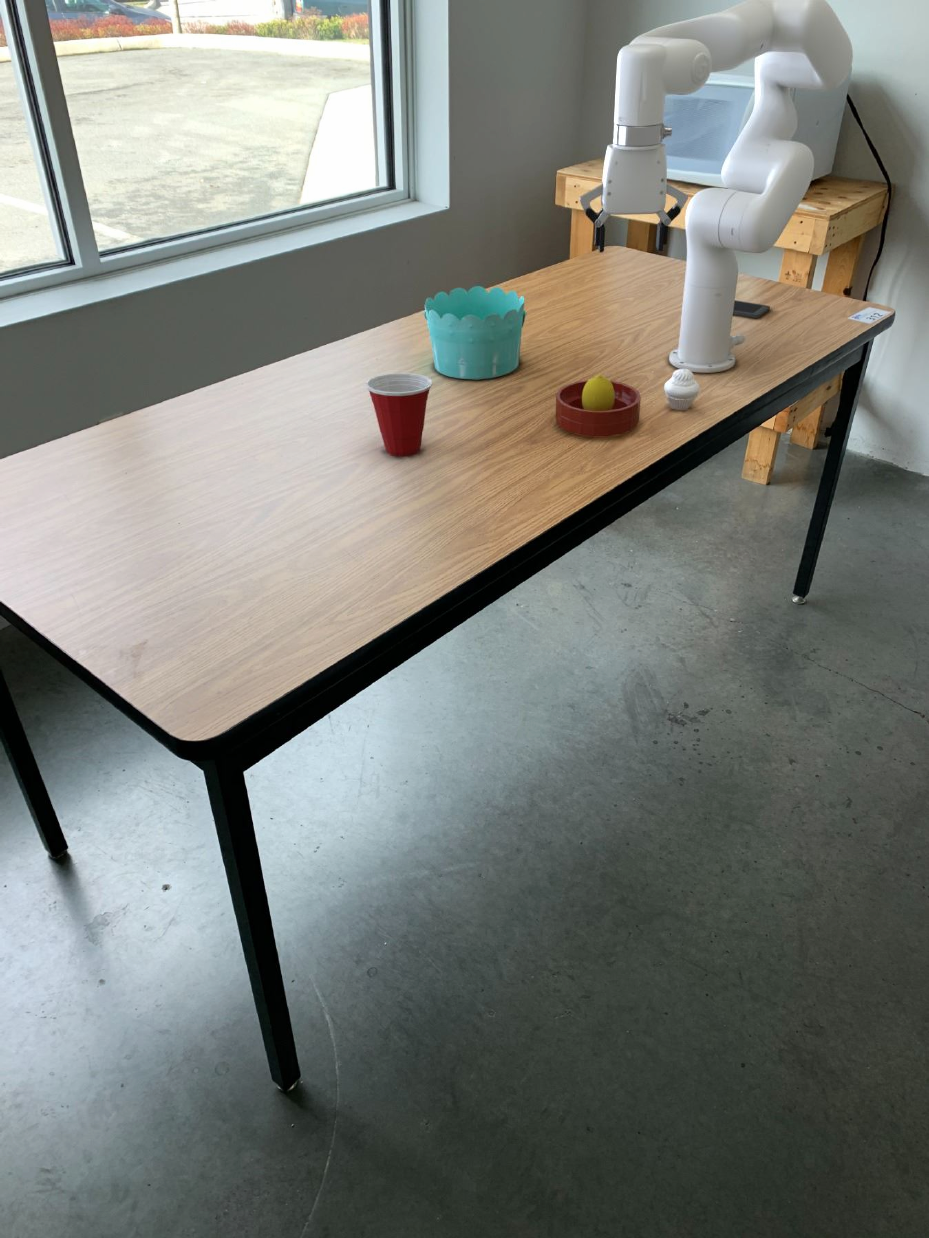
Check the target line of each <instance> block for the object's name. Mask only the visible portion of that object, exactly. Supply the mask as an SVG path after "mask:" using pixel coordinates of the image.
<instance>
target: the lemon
mask: <svg viewBox="0 0 929 1238" xmlns="http://www.w3.org/2000/svg"><path fill="white" fill-rule="evenodd" d="M588 380H589V381H588V382H587V383H586V384H585V386H584V389H583V393H582V405H583V408H584V410H592V411H609V410H611V409H612V407H613V404H614V400H615V394H614V388H613V385H612V383H611V382H610V381H611V380H609V379H608V378H607V377H605V376H603V375H601V374H597V375H596V376H593V377H591V378H589V379H588Z"/></svg>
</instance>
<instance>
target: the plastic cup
mask: <svg viewBox="0 0 929 1238" xmlns="http://www.w3.org/2000/svg"><path fill="white" fill-rule="evenodd" d="M433 383H434V381H433V380H432V378H430V377H429V376H425V375H423V374H418V373H412V372H391V373H384V374H379V375H375V376H373V377H371V378H368V379H367V380H366V381H365V383H364V385H365V387H366V389H367V391H368V392H369V396H370V399H371V401H372V402H371V403H372V404H373V409H374V412H375V416H376V421H377V424H378V428H379V432H380V434H381V437H382V438H381V439H382V441H383V445H384V448H385V451H386V453H387V454H388V455H390V456H393V457H396V458H397V457H400V458H404V457H411V456H414V455H417V454H418V453H419V452H420V450H421V447H422V440H423V432H424V429H425V428H424V427H425V419H426V410H427V402H428V398H429V395H430V394H429V393H430V389H431V388H432V386H433Z"/></svg>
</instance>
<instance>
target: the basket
mask: <svg viewBox="0 0 929 1238" xmlns="http://www.w3.org/2000/svg"><path fill="white" fill-rule="evenodd" d="M423 305H424V309H425V311H424V313H423V317H424V318H425V320H426V321H427V324H426V325H427V327H428V332H429V339H430V343H431V344H430V345H431V349H432V357H433V362H434V368H435V370H436V372H438V373H439V374H441V375H443V376H445V377H446V376H447V377H449V378H454V379H459V380H460V379H462V380H476V381H478V380H488V379H494V378H498V377H502V376H506V375H508V374H510V373H512V372H513V371H515V370H516V369H517V368H518V366H519V364H520V353H521V342H522V333H523V332H522V331H523V327H524V325H525V320H526V316H527V311H526V310H525V297H524V295H521V296H520V297H519V296H518V293H517V292H516V291H515V290H510V291H508V292H507V293H506V292H505V290H504V289H503V288H501V287H500V286H499V287H498V286H496V287H495V286H494V287H492V288H491V289H490V290H489V291H488V290H487V289H486V288H485V287H483V286H482V285H481V286H480V285H476V286H472V287H471V288H470V289H468V290H466V289H465V288H462V287H455V288H453V289H451V290H449V294H448V293H447V292H445V291H439V292H438V293H436V294H435V295H434V298H432V297H427V298H425V304H423Z"/></svg>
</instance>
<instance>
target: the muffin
mask: <svg viewBox="0 0 929 1238" xmlns="http://www.w3.org/2000/svg"><path fill="white" fill-rule="evenodd" d="M663 390H664V394H665V397H666V400H667V401H668V404H669V406H670V408H671V409H673V410H675V411H686V410H688V409H689V408H691V405H693V402H694V401H695V400H696V398H697V397H698V394H699V392H700V385H699V384H698V382H697V381H696V379H695V377H694V372H691V371H690V370H688V369H679V368H677V369H676V370H675V371H674V372H672V376H671V377H670V379H668V380H667V381H666V382H665V383H664V387H663Z"/></svg>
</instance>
